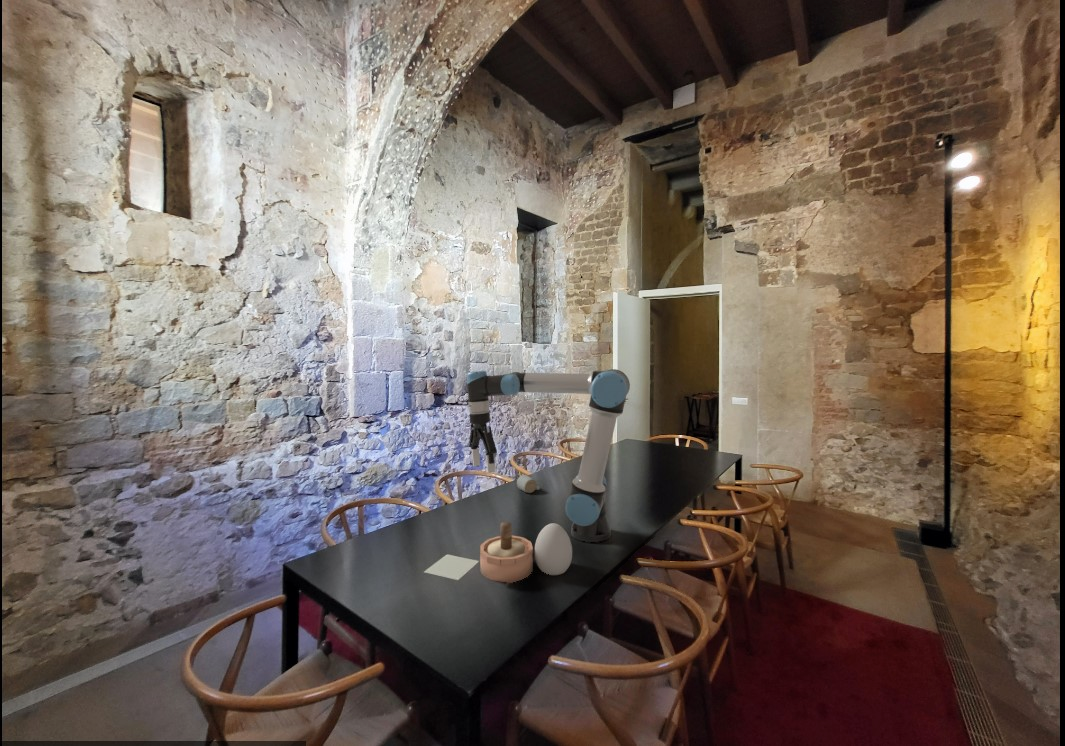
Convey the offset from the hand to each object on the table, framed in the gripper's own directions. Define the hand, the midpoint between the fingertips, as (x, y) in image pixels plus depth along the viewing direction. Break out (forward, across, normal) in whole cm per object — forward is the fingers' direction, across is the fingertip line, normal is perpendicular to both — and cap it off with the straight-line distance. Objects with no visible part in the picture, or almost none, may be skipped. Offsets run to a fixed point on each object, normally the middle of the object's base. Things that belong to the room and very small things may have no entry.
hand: (483, 468), depth 166 cm
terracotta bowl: (+28, +24, -4) cm, 37 cm away
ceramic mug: (+26, -40, +40) cm, 63 cm away
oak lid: (+22, +24, -4) cm, 33 cm away
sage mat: (+27, +14, -19) cm, 36 cm away
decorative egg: (+29, +31, +9) cm, 43 cm away
